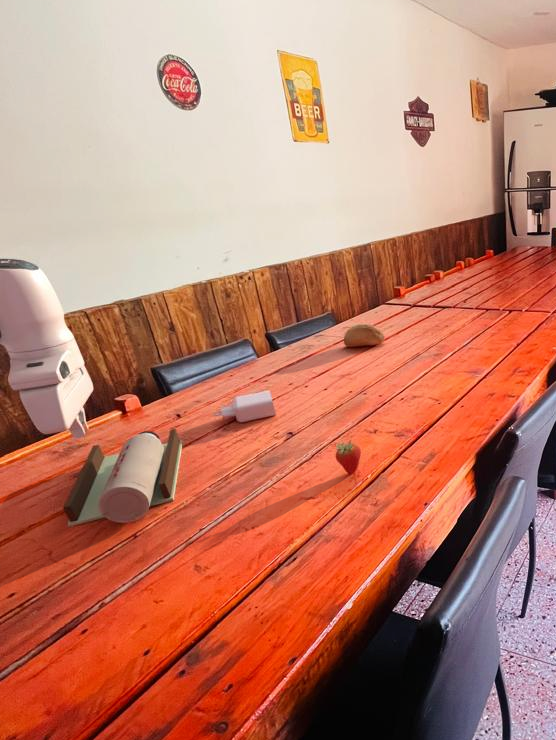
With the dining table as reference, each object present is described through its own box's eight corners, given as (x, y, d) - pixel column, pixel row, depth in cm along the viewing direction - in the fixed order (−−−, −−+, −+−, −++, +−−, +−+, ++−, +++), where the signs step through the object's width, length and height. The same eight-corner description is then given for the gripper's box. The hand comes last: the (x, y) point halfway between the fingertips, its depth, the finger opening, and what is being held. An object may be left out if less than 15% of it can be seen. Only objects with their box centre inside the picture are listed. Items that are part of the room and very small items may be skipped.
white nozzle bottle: (215, 416, 140) (273, 404, 146) (216, 429, 132) (276, 416, 138) (210, 400, 138) (269, 388, 143) (211, 413, 130) (272, 400, 136)
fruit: (335, 472, 111) (328, 440, 107) (357, 463, 114) (351, 431, 110) (346, 481, 107) (339, 448, 104) (368, 471, 110) (363, 439, 107)
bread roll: (384, 347, 187) (381, 326, 183) (343, 351, 185) (339, 330, 182) (385, 339, 196) (382, 319, 192) (345, 343, 194) (342, 322, 190)
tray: (68, 527, 98) (59, 509, 96) (98, 460, 121) (91, 445, 119) (173, 500, 104) (167, 483, 102) (182, 442, 127) (177, 427, 125)
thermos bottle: (107, 481, 93) (134, 419, 116) (91, 517, 94) (121, 448, 117) (156, 493, 97) (173, 431, 120) (140, 527, 98) (159, 459, 122)
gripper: (44, 346, 92) (74, 415, 98) (3, 384, 75) (43, 465, 81) (85, 340, 94) (113, 408, 100) (54, 376, 77) (90, 455, 83)
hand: (81, 434), depth 90 cm, fingers closed
